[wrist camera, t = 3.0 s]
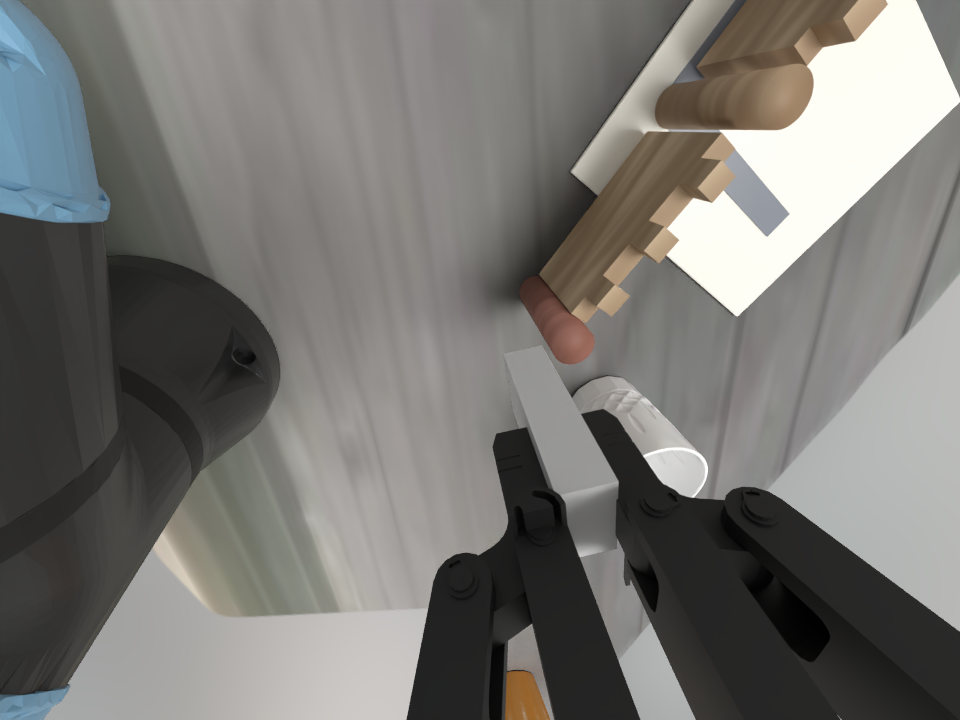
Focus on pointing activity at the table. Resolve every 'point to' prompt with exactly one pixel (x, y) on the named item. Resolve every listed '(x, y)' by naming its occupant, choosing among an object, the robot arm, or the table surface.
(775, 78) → the wooden castle wall
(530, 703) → the flower pot
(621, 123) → the card
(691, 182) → the swing panel
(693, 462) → the white cup
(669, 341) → the table surface
